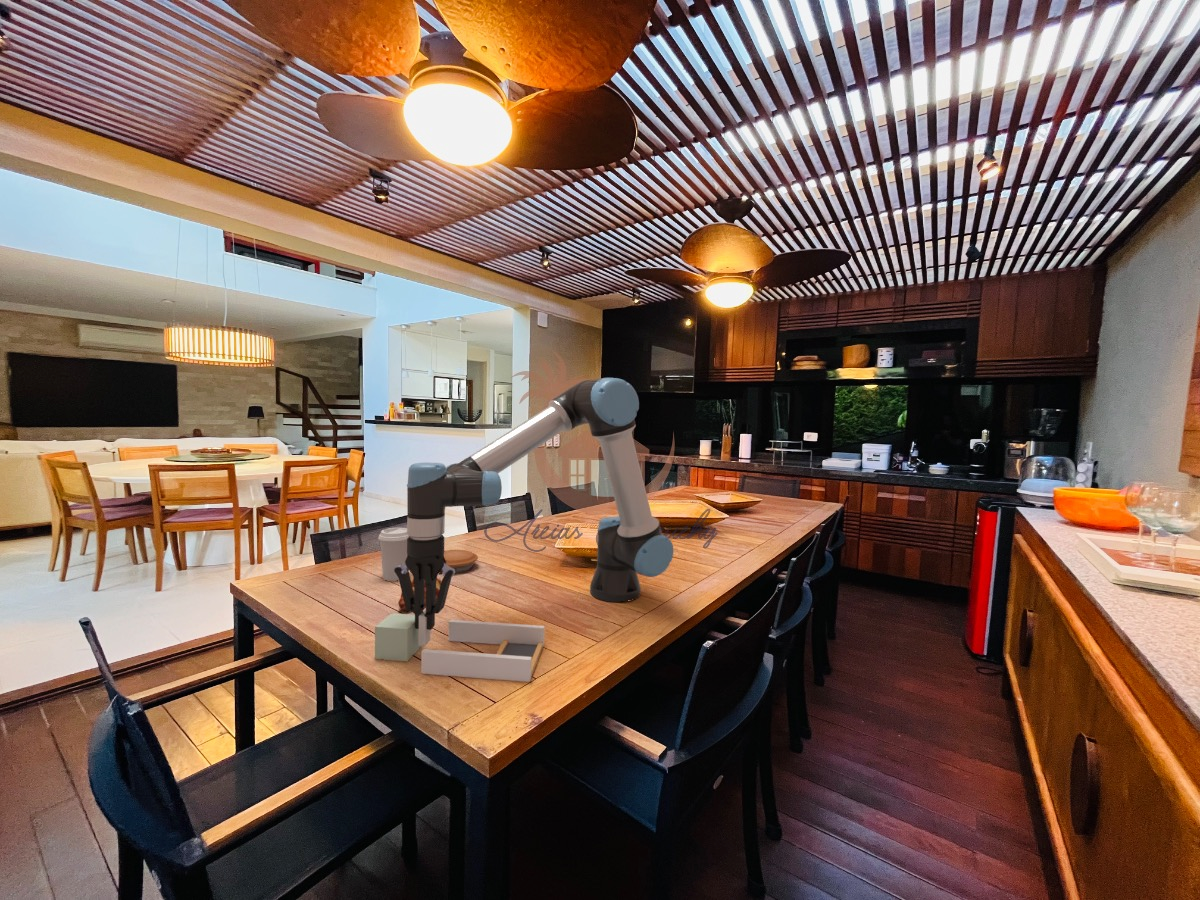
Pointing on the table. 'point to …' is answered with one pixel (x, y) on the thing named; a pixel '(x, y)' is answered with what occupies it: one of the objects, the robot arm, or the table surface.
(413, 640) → the block
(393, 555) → the coffee cup
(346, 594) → the table surface
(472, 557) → the pie
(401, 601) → the croissant
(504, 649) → the drawer
